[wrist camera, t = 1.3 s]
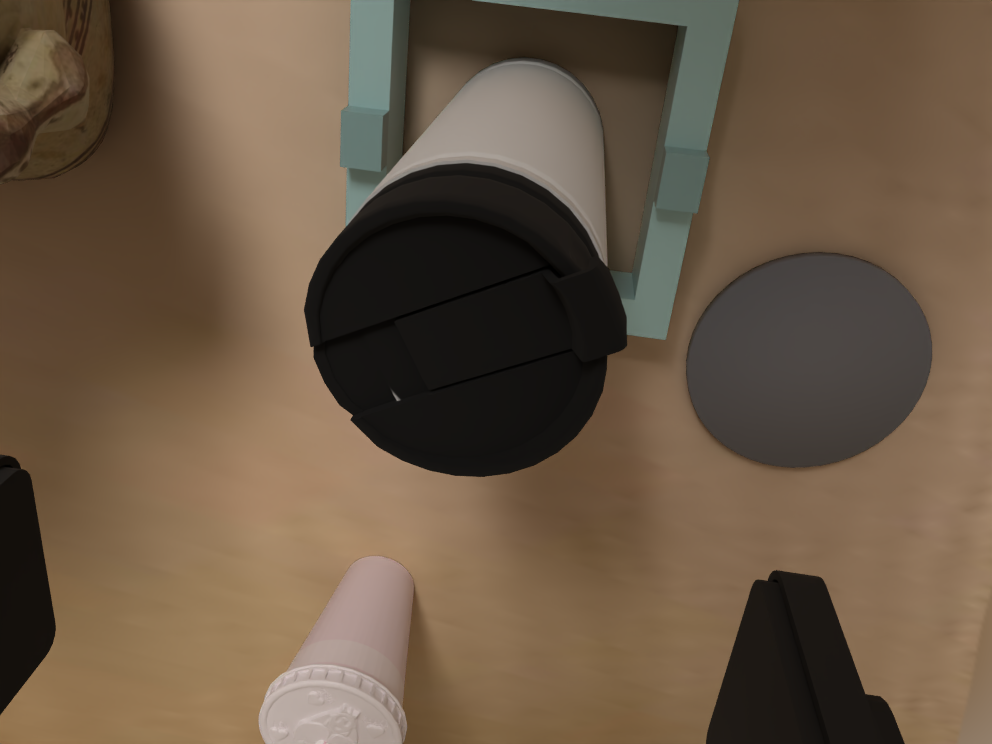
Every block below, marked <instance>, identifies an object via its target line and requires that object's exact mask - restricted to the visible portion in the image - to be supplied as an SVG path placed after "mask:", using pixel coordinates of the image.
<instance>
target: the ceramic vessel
mask: <svg viewBox="0 0 992 744" xmlns="http://www.w3.org/2000/svg"><path fill="white" fill-rule="evenodd" d="M114 65H115V64H114V52H113V39H112V26H111V14H110V5H109V0H0V184H3V183H6V182H8V181H11V180H18V181H20V180H34V179H48V178H55V177H57V176H59V175H61V174H63V173H65V172H67V171H69V170H71V169H73V168H75V167H77V166H79V165H80V164H81V163H83V162H84V161H86V160H87V159H88V158H89V157H90V156H91V155H92V154H93V153H94V152H95V150H96V149H97V148H98V146H99V145H100V144H101V142H102V140H103V138H104V135H105V133H106V131H107V127H108V123H109V119H110V115H111V110H112V106H113V86H114Z"/></svg>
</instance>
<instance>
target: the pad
mask: <svg viewBox="0 0 992 744" xmlns="http://www.w3.org/2000/svg"><path fill="white" fill-rule="evenodd" d="M931 361H932V341H931V335H930V330H929V327H928V324H927V321H926V318H925V316H924V314H923V312H922V310H921V308H920V306H919V304H918V303H917V302H916V300H915V299H914V298H913V296H912V295H911V294H910V293H909V291H908V290H907V289H906V288H905V287H904V286H903V285H902V284H901V283H900V282H899V281H898V280H897V279H896V278H895V277H893V276H892V275H890V274H889V273H888V272H886V271H885V270H883V269H882V268H880V267H878V266H876V265H874V264H872V263H870V262H868V261H865V260H862V259H859V258H856V257H853V256H847V255H842V254H837V253H823V252H818V253H802V254H796V255H791V256H786V257H782V258H779V259H776V260H772V261H769V262H767V263H765V264H762V265H760V266H758V267H755V268H754V269H752V270H750V271H748V272H747V273H745V274H743V275H741V276H740V277H739V278H737V279H736V280H734V281H733V282H732V283H730V284H729V285H728V286H727V287H726V288H725V289H723V290H722V291H721V292H720V293H719V294H718V295H717V296H716V297H715V298H714V300H713V301H712V302H711V303H710V304H709V306H708V307H707V308H706V310H705V311H704V313H703V314H702V316H701V317H700V319H699V321H698V323H697V325H696V327H695V329H694V331H693V334H692V337H691V340H690V343H689V347H688V353H687V359H686V375H687V382H688V388H689V393H690V396H691V400H692V403H693V406H694V408H695V410H696V412H697V414H698V416H699V418H700V419H701V421H702V422H703V424H704V425H705V427H706V428H707V429H708V430H709V431H710V432H711V434H712V435H713V436H714V437H715V438H716V439H718V440H719V441H720V442H721V443H722V444H724V445H725V446H726V447H728V448H729V449H731V450H733V451H734V452H736V453H738V454H740V455H742V456H744V457H746V458H748V459H751V460H754V461H757V462H760V463H764V464H768V465H773V466H780V467H791V468H795V467H813V466H821V465H826V464H830V463H834V462H838V461H841V460H844V459H847V458H850V457H852V456H855V455H857V454H859V453H861V452H863V451H865V450H867V449H869V448H870V447H872V446H874V445H875V444H877V443H879V442H880V441H881V440H883V439H884V438H885V437H887V436H888V435H889V434H891V433H892V432H893V431H894V430H895V429H896V428H897V427H898V426H899V425H900V424H901V423H902V422H903V421H904V420H905V419H906V417H907V416H908V415H909V414H910V412H911V411H912V410H913V408H914V407H915V405H916V403H917V402H918V400H919V399H920V397H921V395H922V392H923V390H924V388H925V386H926V383H927V380H928V376H929V373H930V368H931Z"/></svg>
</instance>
